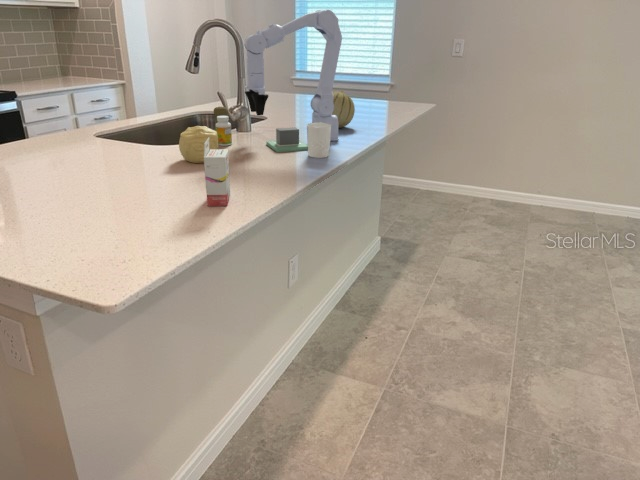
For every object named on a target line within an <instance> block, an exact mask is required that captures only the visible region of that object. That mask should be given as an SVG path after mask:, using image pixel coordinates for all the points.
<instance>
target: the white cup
mask: <svg viewBox="0 0 640 480" xmlns="http://www.w3.org/2000/svg"><path fill="white" fill-rule="evenodd" d="M330 137H331V125H330V124H327V123H312V122H310V123H308V124H306V139H307V140H306V141H307V142H306V143H307V145H308V150H307V153H308V154H307V155H308V157H310V158H315V159H323V158H324V159H325V158H327V157H329V155H330V147H331V141H330Z"/></svg>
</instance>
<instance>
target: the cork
mask: <svg viewBox="0 0 640 480" xmlns="http://www.w3.org/2000/svg"><path fill="white" fill-rule="evenodd" d="M213 114H214V116H215V117H214V118H215V119H214V131H216V126H215V125H216V123H218V121H217V116H229V115H228V114H229V110H228V108H227V107H225V106H217V107H214V109H213Z"/></svg>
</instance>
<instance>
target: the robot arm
mask: <svg viewBox="0 0 640 480" xmlns="http://www.w3.org/2000/svg"><path fill="white" fill-rule="evenodd" d="M304 28H314V29H315V30H316V31H318V32H319V33H320V34H321V36H322V37H323V38H324V39H325V48H324V53H323V59H322V64H321V69H320V74H319V80H318V84H317V85H318V86H317V88H316V90H315V91H314V96H313V97H312V98H311V100H310V107H311V110H313V111H312V114H311V123H327V124H330V125H331V137H330V142H332V141H333V142H335V141H336V142H337V141H339V140H340V139H339V128H338V125H339V123H338V118H337V116H336V115H332V112H333V110H334V103H333V97H334V96H333V92H334V91H333V87H334V84H335V83H334V82H335V76H336V71H337V67H338V62H339V56H340V53H341V52H340V51H341V46H342V41H343V35H342V32H341V28H340V25H339V18H338V16H337V15H336V14H335V12H334V11H332V10H330V9H324V10H321V9H317V10H315V11H312V12H308V13H306V14H303V15H301V16H299V17H297V18H295V19H293V20H291V21H289V22H287V23H285V24H283V25H282V26H281V25H279V24H276V23H275V24H273V23H271V24H269V25H268V27H266V28H265V29H263V30H257V31H256V32H255V33H256V34H250V35H248V36H247V37H246V39H245V42H244V44H243V45H244V48H245V50H246V70H247V71H246V73H247V77H246V78H247V85H245V86H244V89H246V90H247V91H244V94H245V96H246V97H247V101H248V104H249V109H250V112H251V113H254V112H255V114H256V116H264V113H265V109H266V103H267V100H268V99H269V94H266V86H265V60H264V59H265V58H264V51H265V49H266V50H267V49H270V48H271V47H273V46H276V45H277V44H281V42H284V39H285V38H286V36H288V35H291V34H292V33H294V32H297V31H300V30H302V29H304Z"/></svg>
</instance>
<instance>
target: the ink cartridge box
mask: <svg viewBox="0 0 640 480" xmlns="http://www.w3.org/2000/svg"><path fill="white" fill-rule="evenodd" d="M206 146H207V148H206ZM229 158H230V157H229V149H228V148H225V149H224V148H223V149H222V148H221V149H220V148H218V149H210V150H209V137H208V139H207V140H206V142H205V143H204V163H203V165H204V177H205V178H204V179H205V190H206V192H205V193H206V201H207V202H206V203H207V207H228V205H229V200H230V197H231V187H230V186H231V185H230V184H231V183H230V163H229ZM209 205H210V206H209Z"/></svg>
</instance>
